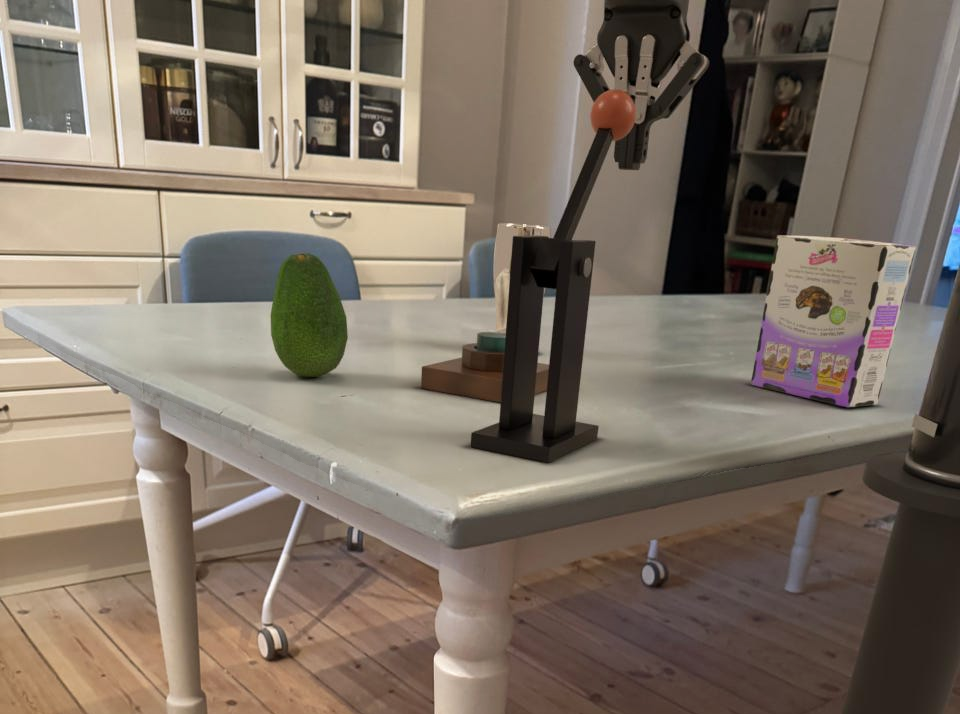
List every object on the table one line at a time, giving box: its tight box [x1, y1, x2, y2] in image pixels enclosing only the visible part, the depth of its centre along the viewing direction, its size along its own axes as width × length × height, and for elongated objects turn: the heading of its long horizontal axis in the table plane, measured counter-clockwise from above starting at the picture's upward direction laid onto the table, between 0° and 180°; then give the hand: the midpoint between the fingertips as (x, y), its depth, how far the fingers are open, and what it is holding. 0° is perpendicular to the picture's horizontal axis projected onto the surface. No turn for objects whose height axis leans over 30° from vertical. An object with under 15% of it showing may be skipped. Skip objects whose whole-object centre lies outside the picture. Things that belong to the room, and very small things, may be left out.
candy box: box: [750, 234, 917, 408], centre depth 102 cm, size 14×6×16 cm, turn 35°
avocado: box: [270, 252, 349, 379], centre depth 94 cm, size 8×8×12 cm
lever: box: [530, 88, 636, 290], centre depth 73 cm, size 17×4×4 cm
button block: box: [420, 342, 549, 404], centre depth 97 cm, size 10×12×4 cm
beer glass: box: [492, 222, 552, 334], centre depth 117 cm, size 7×7×15 cm
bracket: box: [470, 235, 600, 464], centre depth 74 cm, size 10×7×16 cm
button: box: [476, 331, 506, 352], centre depth 96 cm, size 4×4×2 cm
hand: (629, 169), depth 89 cm, fingers closed
